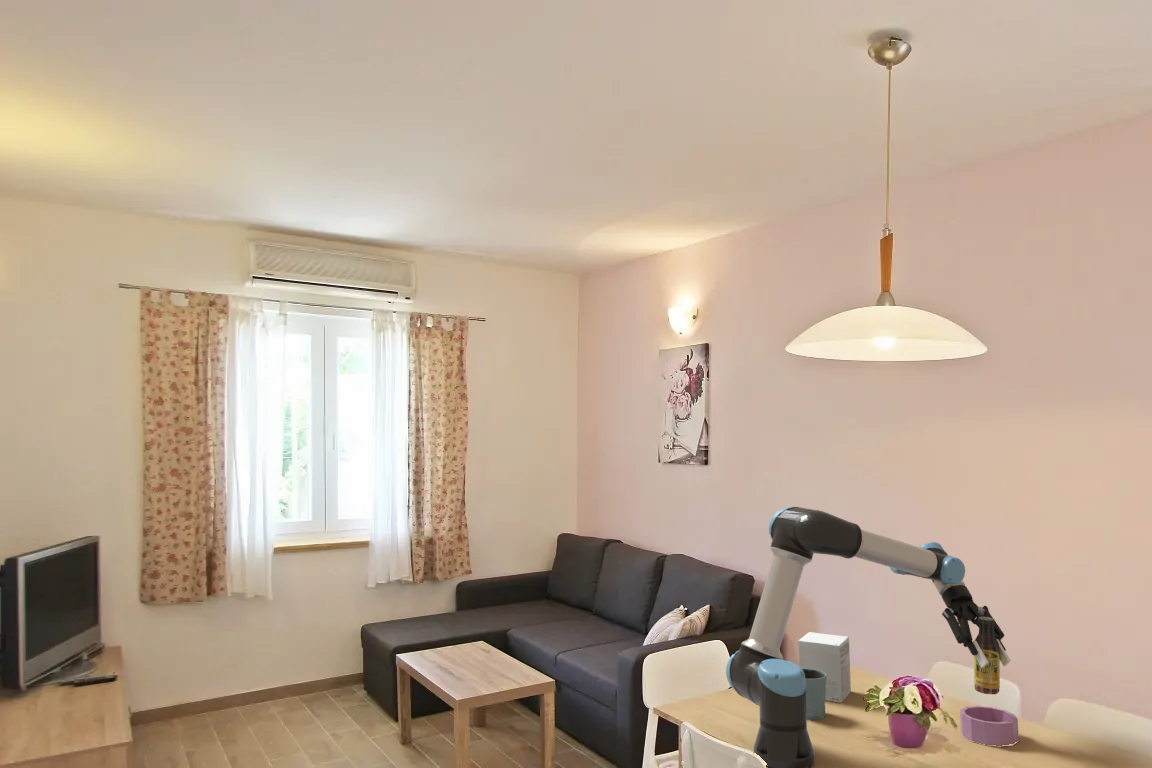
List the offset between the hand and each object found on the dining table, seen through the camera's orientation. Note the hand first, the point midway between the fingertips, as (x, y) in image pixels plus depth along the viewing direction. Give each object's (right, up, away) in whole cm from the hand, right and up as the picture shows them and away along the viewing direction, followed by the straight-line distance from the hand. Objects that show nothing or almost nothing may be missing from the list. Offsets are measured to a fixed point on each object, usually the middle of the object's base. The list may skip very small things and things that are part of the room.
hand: (996, 664), depth 214 cm
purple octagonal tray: (-1, -21, +2) cm, 21 cm away
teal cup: (-44, -22, +21) cm, 54 cm away
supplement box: (-34, -24, +39) cm, 57 cm away
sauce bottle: (-1, -9, +3) cm, 9 cm away
